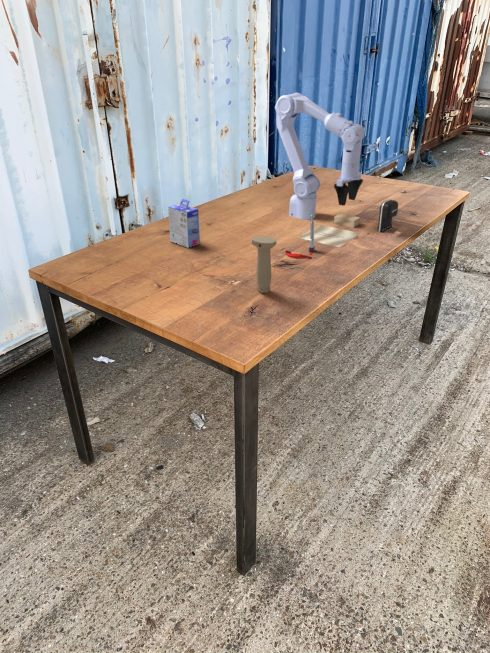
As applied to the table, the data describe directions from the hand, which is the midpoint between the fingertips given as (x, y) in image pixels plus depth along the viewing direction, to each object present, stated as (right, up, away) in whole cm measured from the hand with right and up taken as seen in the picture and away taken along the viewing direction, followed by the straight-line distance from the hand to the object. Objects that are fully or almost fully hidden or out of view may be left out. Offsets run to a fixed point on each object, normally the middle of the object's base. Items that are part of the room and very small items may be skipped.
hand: (346, 202), depth 178 cm
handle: (-31, -35, -40) cm, 61 cm away
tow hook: (-18, -21, -17) cm, 32 cm away
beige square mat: (-7, -14, -6) cm, 17 cm away
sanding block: (+1, -8, +4) cm, 9 cm away
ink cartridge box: (-56, -16, -7) cm, 59 cm away
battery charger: (+13, -12, -2) cm, 18 cm away
